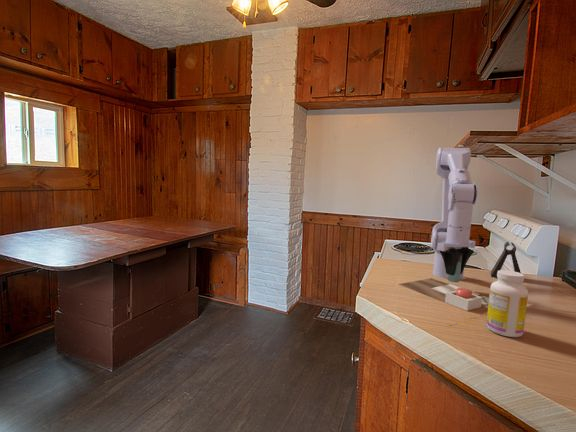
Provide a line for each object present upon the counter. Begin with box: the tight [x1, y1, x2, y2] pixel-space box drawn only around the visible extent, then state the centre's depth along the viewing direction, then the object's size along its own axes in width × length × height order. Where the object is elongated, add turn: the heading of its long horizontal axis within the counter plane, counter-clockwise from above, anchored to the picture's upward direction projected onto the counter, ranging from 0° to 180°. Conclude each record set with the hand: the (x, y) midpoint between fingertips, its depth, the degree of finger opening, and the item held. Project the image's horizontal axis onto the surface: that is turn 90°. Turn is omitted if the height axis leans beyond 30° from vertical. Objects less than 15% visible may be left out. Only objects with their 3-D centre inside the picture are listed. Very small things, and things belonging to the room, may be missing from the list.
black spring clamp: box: [490, 241, 522, 279], centre depth 110 cm, size 9×6×12 cm, turn 59°
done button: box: [456, 287, 473, 299], centre depth 80 cm, size 3×3×2 cm
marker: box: [447, 254, 463, 283], centre depth 91 cm, size 3×3×8 cm
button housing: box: [444, 290, 482, 312], centre depth 81 cm, size 6×6×2 cm
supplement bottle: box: [486, 269, 529, 338], centre depth 68 cm, size 7×7×13 cm
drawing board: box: [397, 277, 489, 312], centre depth 89 cm, size 15×21×1 cm
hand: (453, 273), depth 92 cm, fingers closed on marker, 3 cm apart
